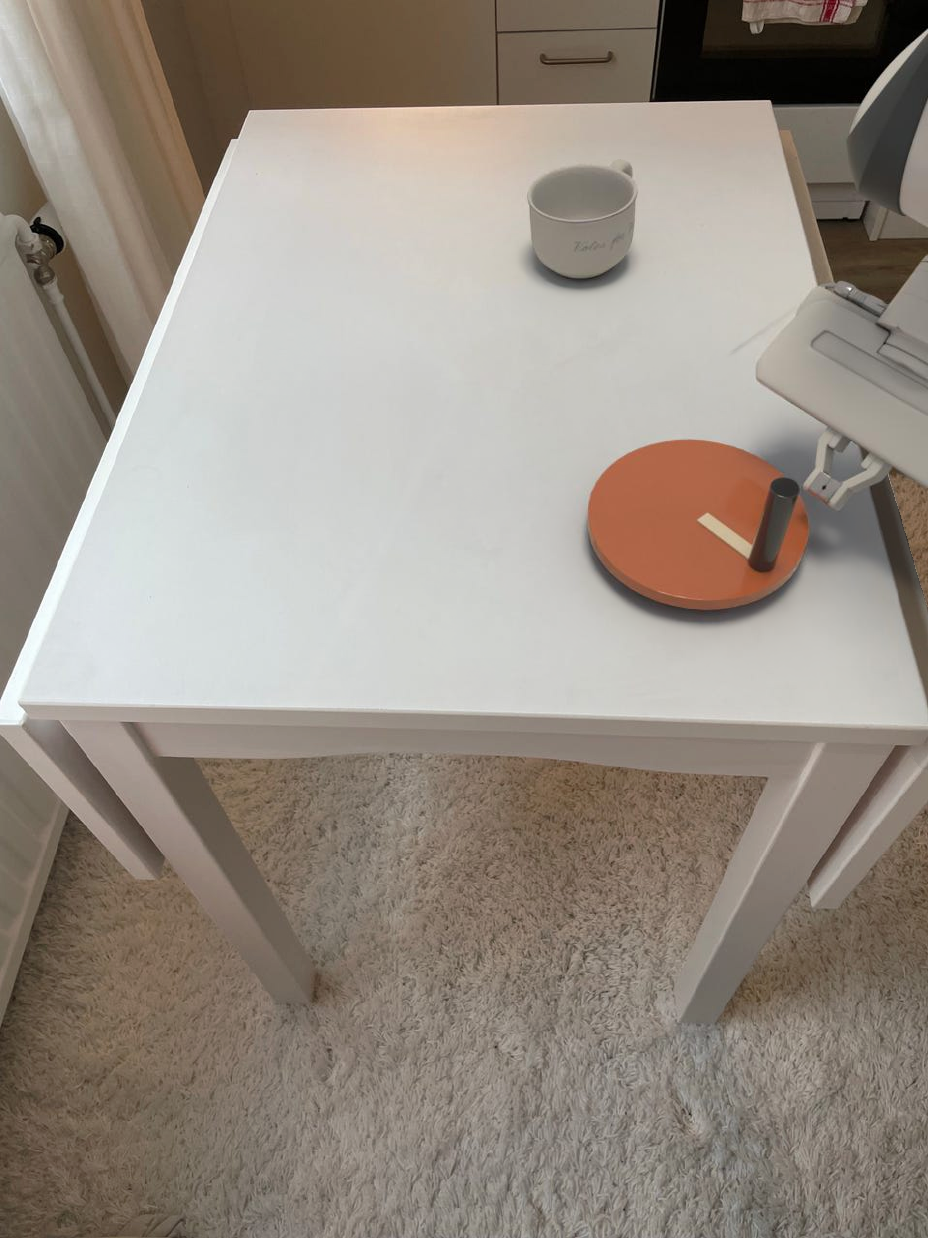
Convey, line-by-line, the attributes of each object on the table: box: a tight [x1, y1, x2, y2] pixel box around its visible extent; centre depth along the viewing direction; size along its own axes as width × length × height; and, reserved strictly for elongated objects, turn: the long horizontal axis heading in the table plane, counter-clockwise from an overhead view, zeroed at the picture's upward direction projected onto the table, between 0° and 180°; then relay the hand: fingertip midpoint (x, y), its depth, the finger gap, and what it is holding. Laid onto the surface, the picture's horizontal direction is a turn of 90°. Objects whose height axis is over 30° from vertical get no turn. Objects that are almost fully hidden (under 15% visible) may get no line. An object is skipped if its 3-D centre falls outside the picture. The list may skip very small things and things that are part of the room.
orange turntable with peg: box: [586, 438, 810, 611], centre depth 72 cm, size 17×17×9 cm
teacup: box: [526, 159, 639, 279], centre depth 98 cm, size 14×11×8 cm
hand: (819, 499), depth 71 cm, fingers closed
